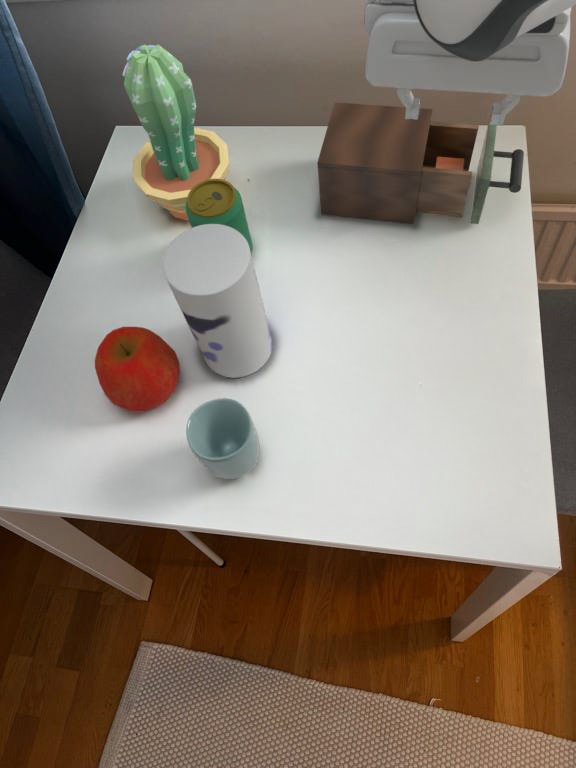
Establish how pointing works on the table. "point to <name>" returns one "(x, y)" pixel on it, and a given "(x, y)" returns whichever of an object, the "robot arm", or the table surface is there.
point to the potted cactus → (170, 130)
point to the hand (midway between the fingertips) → (453, 119)
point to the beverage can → (217, 206)
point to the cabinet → (372, 162)
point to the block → (449, 163)
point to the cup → (223, 438)
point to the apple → (136, 368)
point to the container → (220, 298)
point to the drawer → (450, 187)
